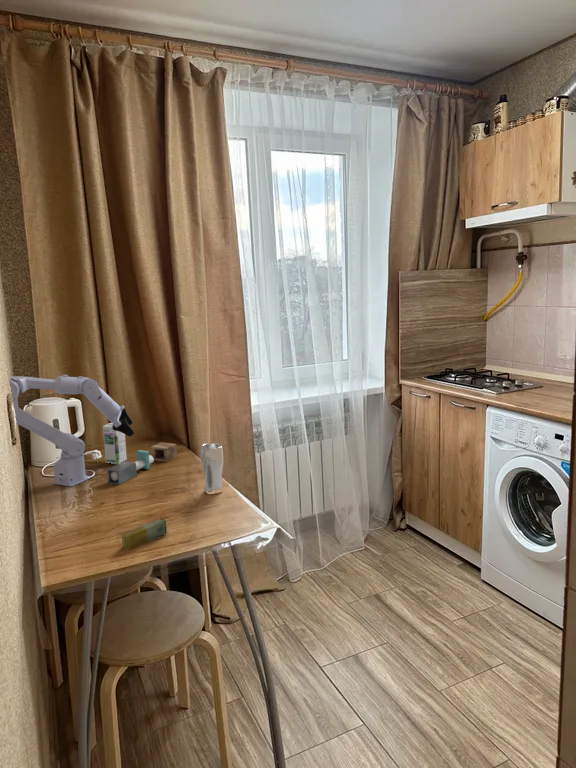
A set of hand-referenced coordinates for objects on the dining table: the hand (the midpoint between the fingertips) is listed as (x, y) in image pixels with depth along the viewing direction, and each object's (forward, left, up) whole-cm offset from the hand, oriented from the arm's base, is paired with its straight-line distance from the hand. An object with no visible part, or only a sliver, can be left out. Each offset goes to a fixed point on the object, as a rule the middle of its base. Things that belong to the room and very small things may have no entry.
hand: (131, 429), depth 198 cm
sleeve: (-12, -5, -14) cm, 19 cm away
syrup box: (+2, +10, -14) cm, 18 cm away
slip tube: (-6, -5, -14) cm, 16 cm away
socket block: (+12, -5, -14) cm, 19 cm away
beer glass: (-11, -40, -14) cm, 44 cm away
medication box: (-47, -41, -15) cm, 64 cm away
